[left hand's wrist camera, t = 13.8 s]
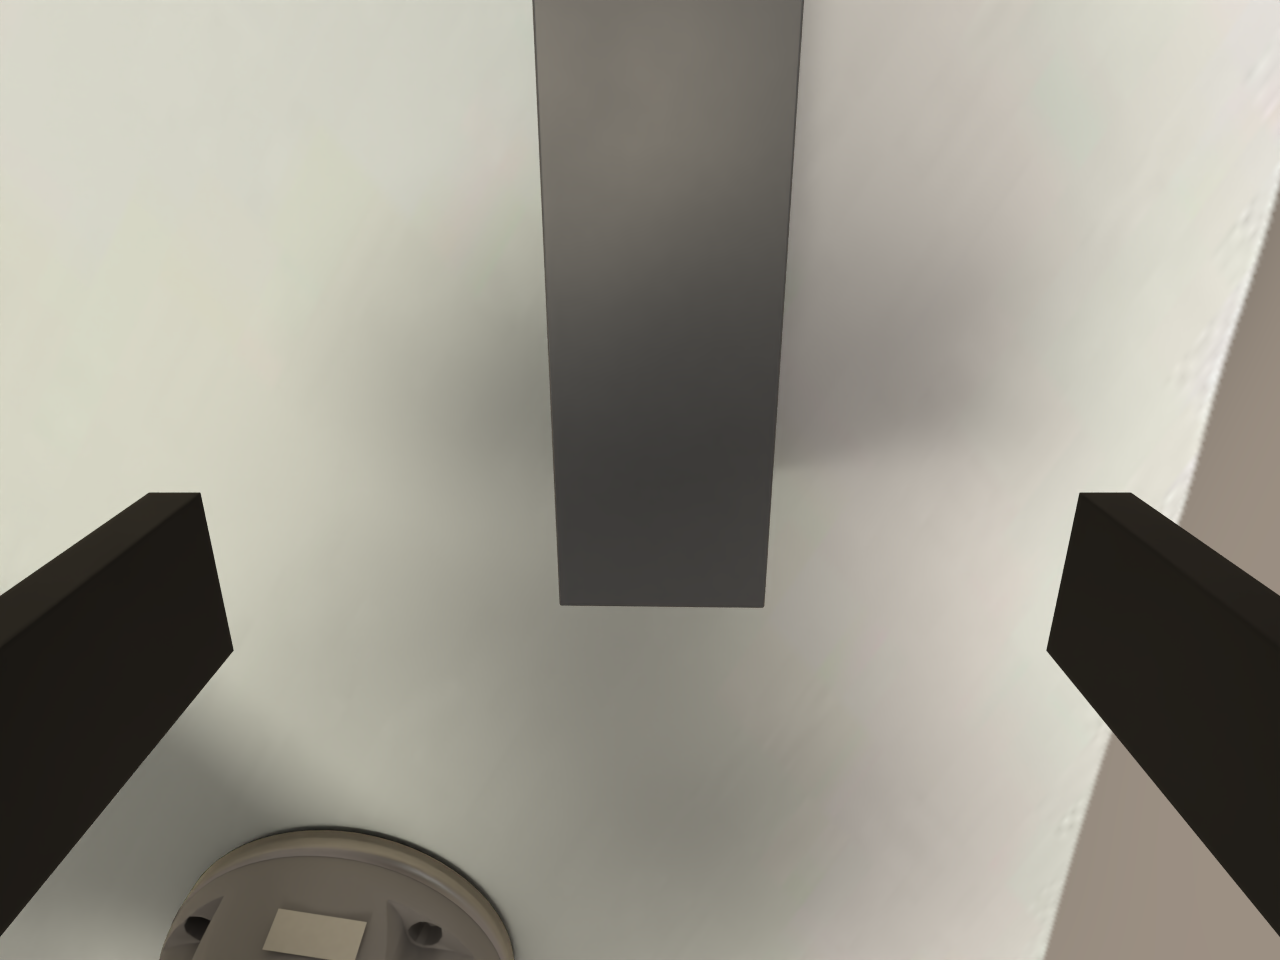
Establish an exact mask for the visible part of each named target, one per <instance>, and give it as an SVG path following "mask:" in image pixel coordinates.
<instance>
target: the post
mask: <svg viewBox="0 0 1280 960" xmlns="http://www.w3.org/2000/svg"><path fill="white" fill-rule="evenodd" d="M532 2H533V24H534V46H535V68H536V90H537V113H538V135H539V157H540V179H541V201H542V223H543V245H544V268H545V290H546V312H547V334H548V356H549V378H550V400H551V423H552V445H553V467H554V489H555V511H556V533H557V555H558V578H559V600H560V605H572V606H657V607H743V608H763V607H764V602H765V587H766V571H767V556H768V541H769V526H770V510H771V495H772V480H773V464H774V449H775V434H776V419H777V403H778V388H779V373H780V357H781V342H782V327H783V312H784V296H785V281H786V266H787V251H788V235H789V220H790V205H791V189H792V174H793V159H794V144H795V128H796V113H797V98H798V82H799V67H800V52H801V37H802V21H803V6H804V0H532Z"/></svg>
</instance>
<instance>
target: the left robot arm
mask: <svg viewBox="0 0 1280 960" xmlns="http://www.w3.org/2000/svg"><path fill="white" fill-rule="evenodd" d="M233 651H234V650H233V645H232V641H231V636H230V631H229V626H228V622H227V617H226V612H225V607H224V603H223V598H222V593H221V588H220V584H219V579H218V574H217V569H216V564H215V560H214V555H213V550H212V545H211V541H210V536H209V531H208V526H207V522H206V517H205V512H204V507H203V503H202V498H201V493H148V494H146V495H145V496H144V497H142V498H141V499H139V500H138V501H136V502H135V503H133V504H132V505H131V506H129V507H128V508H126V509H125V510H123V511H122V512H120V513H119V514H118V515H116V516H115V517H113V518H112V519H110V520H109V521H107V522H106V523H105V524H103V525H102V526H100V527H99V528H97V529H96V530H95V531H93V532H92V533H90V534H89V535H87V536H86V537H84V538H83V539H82V540H80V541H79V542H77V543H76V544H74V545H73V546H71V547H70V548H69V549H67V550H66V551H64V552H63V553H61V554H60V555H58V556H57V557H56V558H54V559H53V560H51V561H50V562H48V563H47V564H45V565H44V566H43V567H41V568H40V569H38V570H37V571H35V572H34V573H33V574H31V575H30V576H28V577H27V578H25V579H24V580H22V581H21V582H20V583H18V584H17V585H15V586H14V587H12V588H11V589H9V590H8V591H7V592H5V593H4V594H2V595H1V596H0V936H1V935H2V934H3V933H4V931H5V930H6V929H7V928H8V927H9V925H10V924H11V923H12V922H13V920H14V919H15V918H16V917H17V915H18V914H19V913H20V912H21V911H22V909H23V908H24V907H25V906H26V904H27V903H28V902H29V901H30V900H31V898H32V897H33V896H34V895H35V893H36V892H37V891H38V890H39V889H40V887H41V886H42V885H43V884H44V882H45V881H46V880H47V879H48V877H49V876H50V875H51V874H52V873H53V871H54V870H55V869H56V868H57V866H58V865H59V864H60V863H61V862H62V860H63V859H64V858H65V857H66V855H67V854H68V853H69V852H70V850H71V849H72V848H73V847H74V846H75V844H76V843H77V842H78V841H79V839H80V838H81V837H82V836H83V835H84V833H85V832H86V831H87V830H88V828H89V827H90V826H91V825H92V824H93V822H94V821H95V820H96V819H97V817H98V816H99V815H100V814H101V812H102V811H103V810H104V809H105V808H106V806H107V805H108V804H109V803H110V801H111V800H112V799H113V798H114V797H115V795H116V794H117V793H118V792H119V790H120V789H121V788H122V787H123V786H124V784H125V783H126V782H127V781H128V779H129V778H130V777H131V776H132V774H133V773H134V772H135V771H136V770H137V768H138V767H139V766H140V765H141V763H142V762H143V761H144V760H145V759H146V757H147V756H148V755H149V754H150V752H151V751H152V750H153V749H154V747H155V746H156V745H157V744H158V743H159V741H160V740H161V739H162V738H163V736H164V735H165V734H166V733H167V732H168V730H169V729H170V728H171V727H172V725H173V724H174V723H175V722H176V721H177V719H178V718H179V717H180V716H181V714H182V713H183V712H184V711H185V709H186V708H187V707H188V706H189V705H190V703H191V702H192V701H193V700H194V698H195V697H196V696H197V695H198V694H199V692H200V691H201V690H202V689H203V687H204V686H205V685H206V684H207V682H208V681H209V680H210V679H211V678H212V676H213V675H214V674H215V673H216V671H217V670H218V669H219V668H220V667H221V665H222V664H223V663H224V662H225V660H226V659H227V658H228V657H229V656H230V654H231V653H232V652H233ZM1046 651H1047V652H1048V653H1049V654H1050V656H1051V657H1052V658H1053V659H1054V660H1055V662H1056V663H1057V664H1058V665H1059V667H1060V668H1061V669H1062V670H1063V671H1064V673H1065V674H1066V675H1067V676H1068V678H1069V679H1070V680H1071V681H1072V683H1073V684H1074V685H1075V686H1076V687H1077V689H1078V690H1079V691H1080V692H1081V694H1082V695H1083V696H1084V697H1085V698H1086V700H1087V701H1088V702H1089V703H1090V705H1091V706H1092V707H1093V708H1094V709H1095V711H1096V712H1097V713H1098V714H1099V716H1100V717H1101V718H1102V719H1103V721H1104V722H1105V723H1106V724H1107V725H1108V727H1109V728H1110V729H1111V730H1112V732H1113V733H1114V734H1115V735H1116V736H1117V738H1118V739H1119V740H1120V741H1121V743H1122V744H1123V745H1124V746H1125V747H1126V749H1127V750H1128V751H1129V752H1130V754H1131V755H1132V756H1133V757H1134V759H1135V760H1136V761H1137V762H1138V763H1139V765H1140V766H1141V767H1142V768H1143V770H1144V771H1145V772H1146V773H1147V774H1148V776H1149V777H1150V778H1151V779H1152V781H1153V782H1154V783H1155V784H1156V786H1157V787H1158V788H1159V789H1160V790H1161V792H1162V793H1163V794H1164V795H1165V797H1166V798H1167V799H1168V800H1169V801H1170V803H1171V804H1172V805H1173V806H1174V808H1175V809H1176V810H1177V811H1178V812H1179V814H1180V815H1181V816H1182V817H1183V819H1184V820H1185V821H1186V822H1187V824H1188V825H1189V826H1190V827H1191V828H1192V830H1193V831H1194V832H1195V833H1196V834H1197V836H1198V837H1199V838H1200V839H1201V841H1202V842H1203V843H1204V844H1205V846H1206V847H1207V848H1208V849H1209V850H1210V852H1211V853H1212V854H1213V855H1214V857H1215V858H1216V859H1217V860H1218V862H1219V863H1220V864H1221V865H1222V866H1223V868H1224V869H1225V870H1226V871H1227V873H1228V874H1229V875H1230V876H1231V877H1232V879H1233V880H1234V881H1235V882H1236V884H1237V885H1238V886H1239V887H1240V888H1241V890H1242V891H1243V892H1244V893H1245V895H1246V896H1247V897H1248V898H1249V899H1250V901H1251V902H1252V903H1253V904H1254V906H1255V907H1256V908H1257V909H1258V911H1259V912H1260V913H1261V914H1262V915H1263V917H1264V918H1265V919H1266V920H1267V922H1268V923H1269V924H1270V925H1271V927H1272V928H1273V929H1274V930H1275V931H1276V933H1277V934H1278V935H1279V936H1280V596H1279V595H1278V594H1276V593H1275V592H1273V591H1272V590H1271V589H1269V588H1268V587H1266V586H1265V585H1263V584H1262V583H1260V582H1259V581H1258V580H1256V579H1255V578H1253V577H1252V576H1250V575H1249V574H1247V573H1246V572H1245V571H1243V570H1242V569H1240V568H1239V567H1237V566H1236V565H1234V564H1233V563H1232V562H1230V561H1229V560H1227V559H1226V558H1224V557H1223V556H1222V555H1220V554H1219V553H1217V552H1216V551H1214V550H1213V549H1211V548H1210V547H1209V546H1207V545H1206V544H1204V543H1203V542H1201V541H1200V540H1198V539H1197V538H1196V537H1194V536H1193V535H1191V534H1190V533H1188V532H1187V531H1185V530H1184V529H1183V528H1181V527H1180V526H1178V525H1177V524H1175V523H1174V522H1173V521H1171V520H1170V519H1168V518H1167V517H1165V516H1164V515H1162V514H1161V513H1160V512H1158V511H1157V510H1155V509H1154V508H1152V507H1151V506H1149V505H1148V504H1147V503H1145V502H1144V501H1142V500H1141V499H1139V498H1138V497H1136V496H1135V495H1134V494H1132V493H1079V498H1078V503H1077V507H1076V512H1075V517H1074V522H1073V526H1072V531H1071V536H1070V541H1069V545H1068V550H1067V555H1066V560H1065V564H1064V569H1063V574H1062V579H1061V583H1060V588H1059V593H1058V598H1057V603H1056V607H1055V612H1054V617H1053V622H1052V626H1051V631H1050V636H1049V641H1048V645H1047V650H1046ZM159 960H514V956H513V950H512V945H511V942H510V939H509V936H508V933H507V931H506V929H505V926H504V924H503V923H502V921H501V919H500V917H499V916H498V914H497V912H496V911H495V910H494V908H493V907H492V906H491V904H490V903H489V902H488V901H487V899H486V898H485V897H484V896H483V895H482V894H481V893H480V892H479V891H478V890H477V889H476V888H475V887H474V886H473V885H472V884H471V883H469V882H468V881H467V880H466V879H465V878H463V877H462V876H461V875H459V874H458V873H457V872H455V871H454V870H452V869H451V868H449V867H448V866H446V865H445V864H443V863H441V862H440V861H438V860H436V859H434V858H432V857H430V856H428V855H427V854H424V853H422V852H420V851H418V850H415V849H413V848H411V847H408V846H405V845H402V844H400V843H397V842H394V841H390V840H387V839H383V838H380V837H375V836H371V835H366V834H361V833H354V832H346V831H333V830H306V831H296V832H288V833H282V834H277V835H272V836H269V837H265V838H261V839H258V840H255V841H253V842H250V843H247V844H245V845H243V846H241V847H239V848H237V849H235V850H233V851H231V852H229V853H228V854H226V855H225V856H223V857H221V858H220V859H219V860H218V861H216V862H215V863H214V864H213V865H211V866H210V867H209V868H208V869H207V870H206V871H205V872H204V873H203V874H202V876H201V877H200V878H199V880H198V881H197V882H196V884H195V885H194V887H193V888H192V890H191V892H190V893H189V895H188V896H187V898H186V900H185V901H184V903H183V904H182V906H181V908H180V909H179V911H178V913H177V915H176V916H175V918H174V920H173V923H172V925H171V928H170V930H169V933H168V935H167V937H166V940H165V942H164V945H163V948H162V951H161V955H160V959H159Z"/></svg>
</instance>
